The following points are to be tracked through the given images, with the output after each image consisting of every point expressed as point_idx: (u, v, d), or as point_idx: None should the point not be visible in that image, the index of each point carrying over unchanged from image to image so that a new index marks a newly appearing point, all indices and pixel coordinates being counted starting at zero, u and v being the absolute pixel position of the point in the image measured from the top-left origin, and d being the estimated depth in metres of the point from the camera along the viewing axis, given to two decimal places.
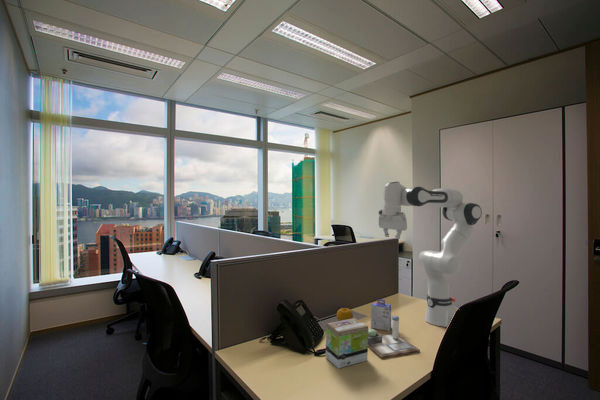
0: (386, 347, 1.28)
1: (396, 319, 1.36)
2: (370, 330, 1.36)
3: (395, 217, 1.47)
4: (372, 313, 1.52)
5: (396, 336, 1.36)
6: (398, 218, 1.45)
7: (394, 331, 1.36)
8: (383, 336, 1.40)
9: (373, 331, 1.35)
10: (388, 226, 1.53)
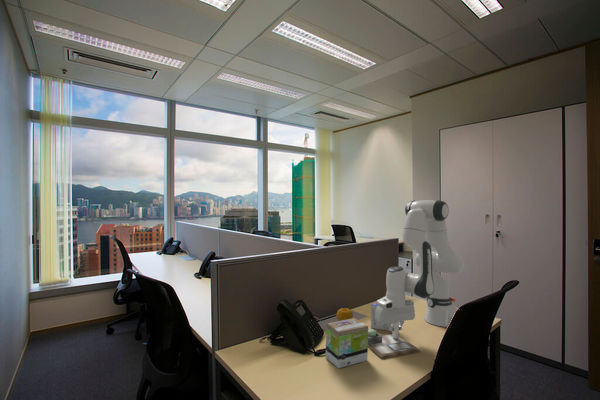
0: (386, 347, 1.28)
1: None
2: (370, 330, 1.36)
3: (407, 307, 1.37)
4: (372, 313, 1.52)
5: (396, 336, 1.36)
6: (411, 307, 1.38)
7: (394, 331, 1.36)
8: (383, 336, 1.40)
9: (373, 331, 1.35)
10: (396, 319, 1.35)
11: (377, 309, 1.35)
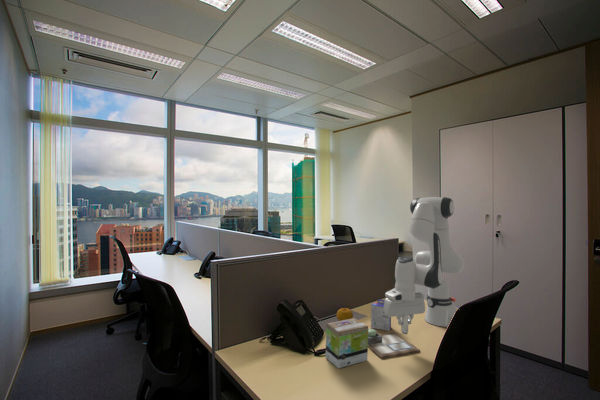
0: (386, 347, 1.28)
1: None
2: (370, 330, 1.36)
3: (417, 300, 1.31)
4: (372, 313, 1.52)
5: (405, 330, 1.29)
6: (421, 300, 1.31)
7: (403, 325, 1.29)
8: (383, 336, 1.40)
9: (373, 331, 1.35)
10: (406, 312, 1.29)
11: (386, 301, 1.29)
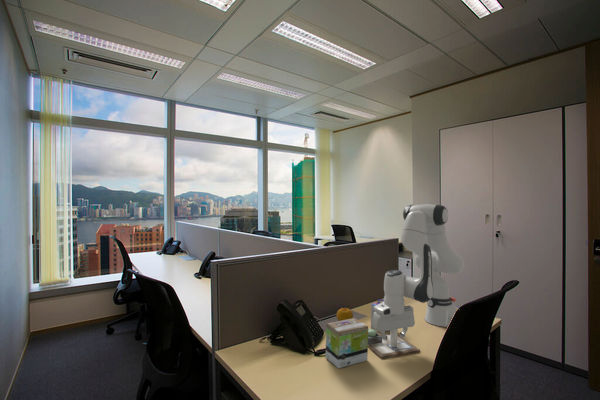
0: (386, 347, 1.28)
1: None
2: (370, 330, 1.36)
3: (406, 313, 1.29)
4: (372, 313, 1.52)
5: (394, 344, 1.27)
6: (410, 313, 1.30)
7: (392, 339, 1.28)
8: None
9: (373, 331, 1.35)
10: (395, 326, 1.27)
11: (374, 316, 1.27)
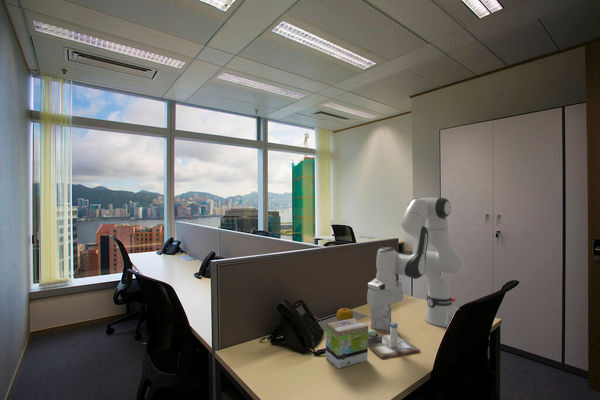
0: (386, 347, 1.28)
1: (394, 326, 1.27)
2: (370, 330, 1.36)
3: (396, 288, 1.32)
4: (372, 313, 1.52)
5: (394, 344, 1.27)
6: (400, 288, 1.34)
7: (392, 339, 1.28)
8: (383, 336, 1.40)
9: (373, 331, 1.35)
10: (387, 301, 1.29)
11: (369, 292, 1.27)
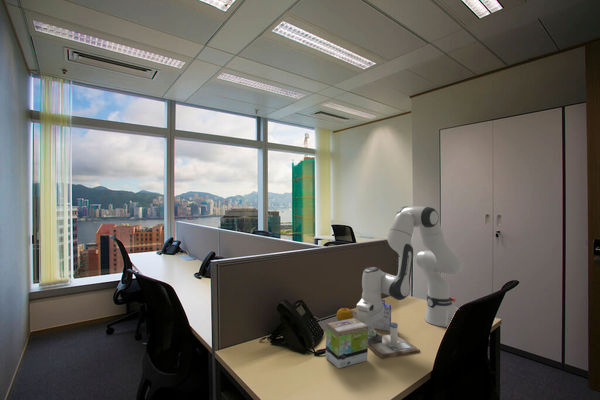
0: (386, 347, 1.28)
1: (394, 326, 1.27)
2: None
3: None
4: None
5: (394, 344, 1.27)
6: (382, 305, 1.40)
7: (392, 339, 1.28)
8: (383, 336, 1.40)
9: (373, 332, 1.35)
10: (374, 320, 1.34)
11: (359, 314, 1.29)
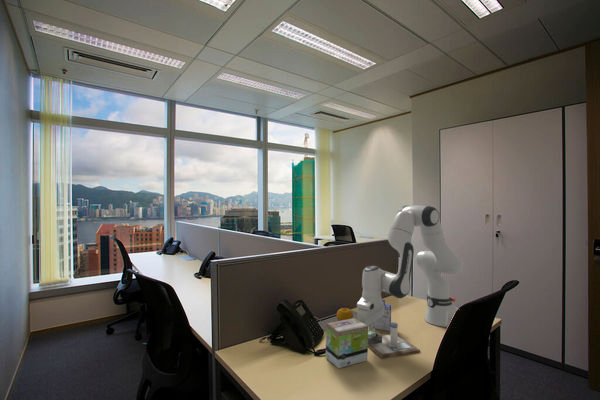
0: (386, 347, 1.28)
1: (394, 326, 1.27)
2: (370, 332, 1.36)
3: None
4: None
5: (394, 344, 1.27)
6: (382, 304, 1.40)
7: (392, 339, 1.28)
8: (383, 336, 1.40)
9: (373, 333, 1.35)
10: (374, 318, 1.34)
11: (359, 312, 1.30)
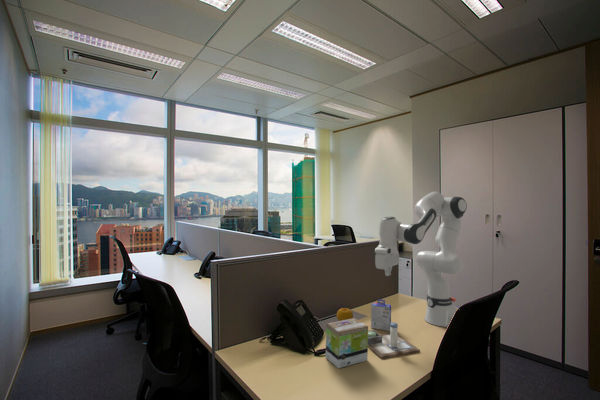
0: (386, 347, 1.28)
1: (394, 326, 1.27)
2: (370, 332, 1.36)
3: (395, 253, 1.50)
4: (372, 313, 1.52)
5: (394, 344, 1.27)
6: (397, 253, 1.52)
7: (392, 339, 1.28)
8: (383, 336, 1.40)
9: (373, 333, 1.35)
10: (390, 264, 1.45)
11: (377, 256, 1.41)
